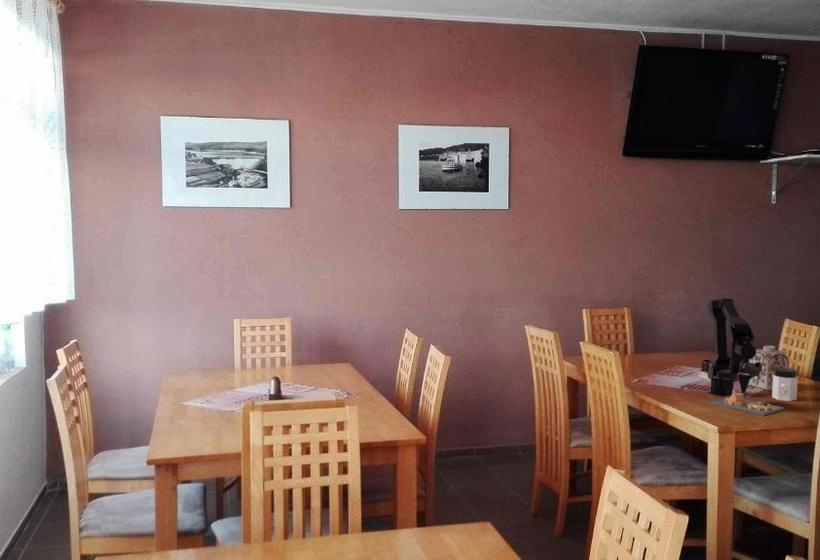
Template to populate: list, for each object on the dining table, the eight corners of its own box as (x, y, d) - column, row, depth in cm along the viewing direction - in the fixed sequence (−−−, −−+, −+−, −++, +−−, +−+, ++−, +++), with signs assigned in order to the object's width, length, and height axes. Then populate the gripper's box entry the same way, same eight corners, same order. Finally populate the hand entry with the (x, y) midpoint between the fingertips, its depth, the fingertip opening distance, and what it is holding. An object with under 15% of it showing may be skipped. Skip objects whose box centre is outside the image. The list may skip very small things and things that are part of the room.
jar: (771, 399, 301) (772, 370, 300) (772, 395, 308) (773, 367, 307) (796, 402, 296) (797, 372, 296) (796, 398, 304) (798, 369, 303)
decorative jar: (788, 389, 320) (790, 347, 319) (767, 390, 317) (768, 349, 316) (767, 383, 332) (769, 343, 330) (746, 385, 328) (748, 344, 327)
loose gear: (720, 402, 291) (720, 393, 291) (732, 399, 296) (733, 390, 296) (741, 406, 284) (741, 397, 284) (753, 403, 289) (754, 394, 289)
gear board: (710, 403, 293) (710, 392, 293) (730, 399, 301) (730, 388, 301) (763, 415, 275) (764, 403, 275) (783, 410, 283) (784, 398, 283)
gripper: (744, 360, 277) (743, 401, 278) (771, 355, 288) (769, 395, 289) (717, 355, 286) (715, 395, 287) (744, 351, 297) (742, 389, 298)
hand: (736, 394), depth 290 cm, fingers open, 9 cm apart
